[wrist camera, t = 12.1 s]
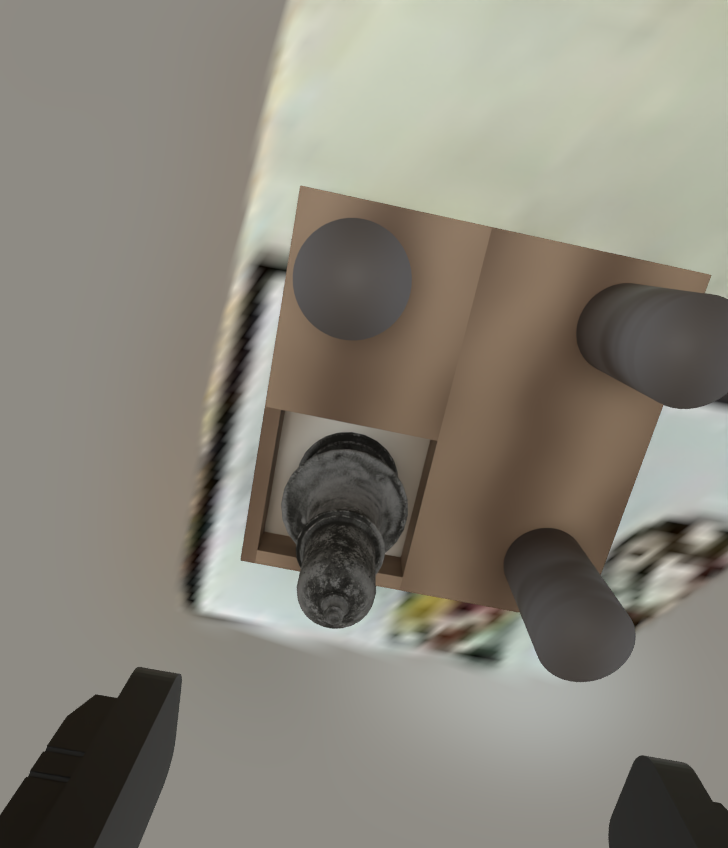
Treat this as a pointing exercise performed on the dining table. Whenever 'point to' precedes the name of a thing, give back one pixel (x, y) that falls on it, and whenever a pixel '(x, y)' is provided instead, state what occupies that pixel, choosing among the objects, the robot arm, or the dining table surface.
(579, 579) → the wooden peg stand
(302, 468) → the grey chess piece
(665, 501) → the dining table surface
